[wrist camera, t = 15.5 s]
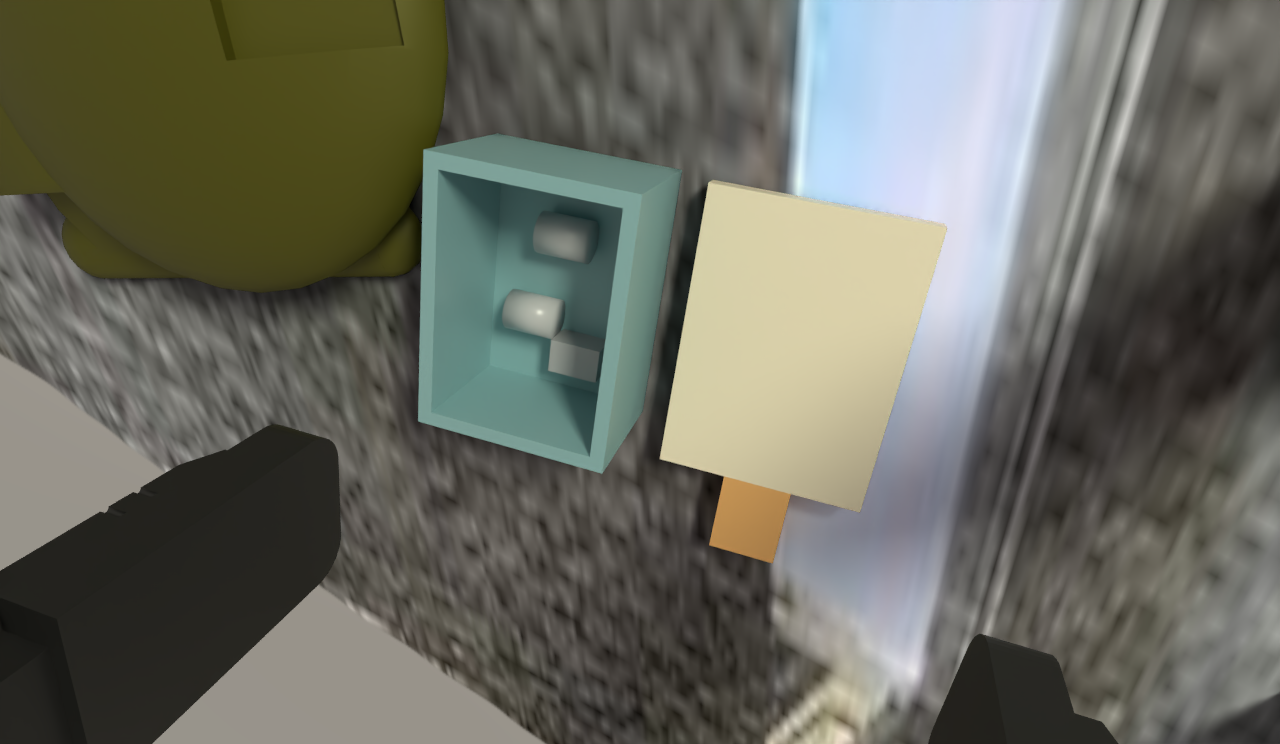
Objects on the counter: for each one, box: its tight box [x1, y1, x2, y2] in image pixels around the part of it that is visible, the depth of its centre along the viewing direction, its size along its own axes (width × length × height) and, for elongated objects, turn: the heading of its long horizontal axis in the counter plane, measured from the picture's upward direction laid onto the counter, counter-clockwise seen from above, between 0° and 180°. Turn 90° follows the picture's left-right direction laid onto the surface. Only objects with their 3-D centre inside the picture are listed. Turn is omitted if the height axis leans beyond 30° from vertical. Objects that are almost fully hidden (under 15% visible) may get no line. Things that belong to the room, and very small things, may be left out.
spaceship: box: [0, 0, 448, 293], centre depth 42 cm, size 35×31×10 cm
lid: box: [660, 180, 947, 563], centre depth 43 cm, size 12×22×2 cm, turn 172°
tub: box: [418, 134, 682, 473], centre depth 42 cm, size 11×15×8 cm
